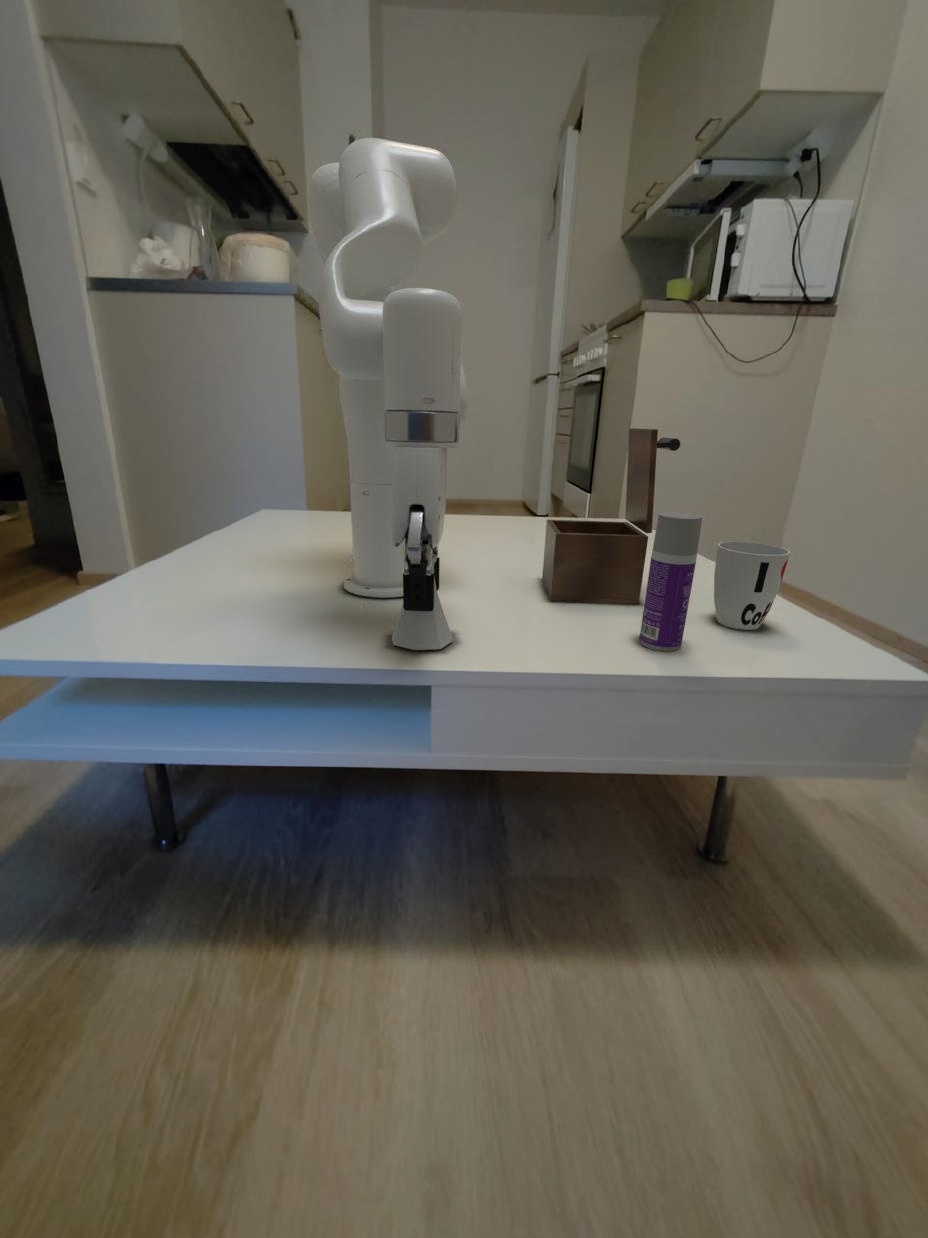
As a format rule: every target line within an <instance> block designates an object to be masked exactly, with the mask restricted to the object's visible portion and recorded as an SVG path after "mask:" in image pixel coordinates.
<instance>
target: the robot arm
mask: <svg viewBox="0 0 928 1238" xmlns="http://www.w3.org/2000/svg"><path fill="white" fill-rule="evenodd" d="M310 178H311V179H310V181H309V187H308V208H309V215H310V217H309V218H310V223H311V228H312V232H313V233H312V234H313V236H314V241H315V244H316V246H317V250H318V253H319V255H320V257H321V259H322V262H323V266H322V270H321V273H320V276H319V283H318V291H317V292H318V294H317V295H318V300H317V301H318V312H319V320H320V327H321V337H322V344H323V349H324V353H325V357H326V360H327V362H328V364H329V366H330V367H331V369H332V371H334V372H335V373H336V374H337V375H339V376H338V397H339V402H340V408H341V413H342V418H343V424H344V429H345V436H346V446H347V456H348V457H347V459H348V470H349V471H348V475H349V493H350V494H349V495H350V496H349V497H350V517H351V538H352V539H351V541H352V542H351V543H352V554H350V555H349V556H348V561H349V563H351V564H353V572H352V573H350V574H348V575H347V576H345V577H344V578H343V588H344V590H346V591H347V592H349V593H351V594H353V595H356V596H361V597H367V598H377V599H378V598H379V599H380V598H382V599H383V598H385V599H386V598H400V597H402V601H403V602H402V606H403V608H404V610H406V611H432V610H433V609H434V577H435V583H436V589H437V592H438V591H439V590H440V561H441V560H440V559H441V558H440V556H439V544H440V542H441V540H442V537H443V534H444V527H445V518H446V509H447V508H446V507H447V506H446V505H447V488H448V487H447V486H448V485H447V484H448V483H447V482H448V449H455V448H457V449H458V448H460V429H461V428H462V427H463V425H464V424H465V422H466V420H467V417H468V412H469V390H468V384H467V379H466V374H465V368H464V363H463V359H462V358H463V357H462V323H463V321H462V320H463V319H462V310H461V309H462V308H461V304H460V302H459V301H458V299H457V298H456V297H455V295H453V294H452V293H449V292H447V291H445V290H440V289H436V288H435V289H434V288H427V287H408V288H407V287H406V288H401V289H397V290H396V289H395V286H396V285H398V284H400V283H402V282H404V281H405V280H406V279H408V278H409V277H411V276H412V275H413V273H414V272H415V271H416V269H417V268H418V266H419V265H420V262H421V259H422V255H423V246H424V245H427V244H429V243H430V242H432V241H434V240H435V239H437V238H439V237H440V236H442V235H443V234H444V233H445V232H446V231H447V230H448V229H449V227H450V226H451V224H452V222H453V219H454V217H455V212H456V207H457V201H458V200H457V199H458V195H457V194H458V191H457V190H458V189H457V180H456V175H455V171H454V168H453V166H452V163H451V162H450V161H449V159H448V158H447V156H446V155H445V154H444V153H443V152H441V150H438V149H435V148H432V147H428V146H422V145H417V144H411V143H405V142H401V141H395V140H390V139H385V138H378V137H364V138H363V137H362V138H359V139H357V140H354V141H353V142H352V143H350V144H349V145H348V146H347V147H346V148H345V149H344V151H343V152H342V154H341V157H340V160H339V161H338V162H331V163H326V164H323V165H322V166H320V167H318V168H317V169H316V170H315V171H314V172H313V174H312V175H311V177H310ZM425 553H426V556H425ZM432 554H436V556H437V560H436V562H434V574H431V572H432Z"/></svg>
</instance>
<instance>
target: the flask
mask: <svg viewBox="0 0 928 1238" xmlns="http://www.w3.org/2000/svg"><path fill="white" fill-rule="evenodd" d="M425 556H426V553H425ZM436 560H437V556H436V554H432V572H431V574H434V562H436ZM438 593H439V592H438V591H437V589H436V583H435V577H434V609H433V610H432V611H406V610H404V608H403V605H402V606H401V609H400V612H399V615H398V618H397V620H396V623H395V625H394V629H393V631H392V634H391V639H392V645H393V646H397V647H401V648H405V649H409V650H412V651H424V650H425V651H427V650H428V651H429V650H441V649H443V648H444V647H446V646H448V645H449V644H451V643H452V642H453V641H454V639H453V635H452V632H451V630H450V627H449V625H448V621H447V619H446V616H445V612H444V609H443V607H442V603H441V600H440V596H439V594H438Z"/></svg>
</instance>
